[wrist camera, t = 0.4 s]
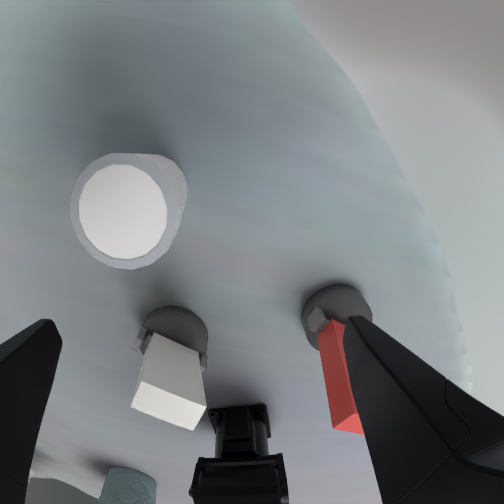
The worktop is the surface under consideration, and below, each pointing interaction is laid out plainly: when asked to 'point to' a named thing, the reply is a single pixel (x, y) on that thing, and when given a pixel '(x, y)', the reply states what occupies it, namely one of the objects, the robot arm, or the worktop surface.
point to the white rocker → (170, 383)
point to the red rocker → (337, 378)
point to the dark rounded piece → (332, 309)
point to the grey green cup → (127, 487)
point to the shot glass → (128, 208)
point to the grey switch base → (176, 330)
